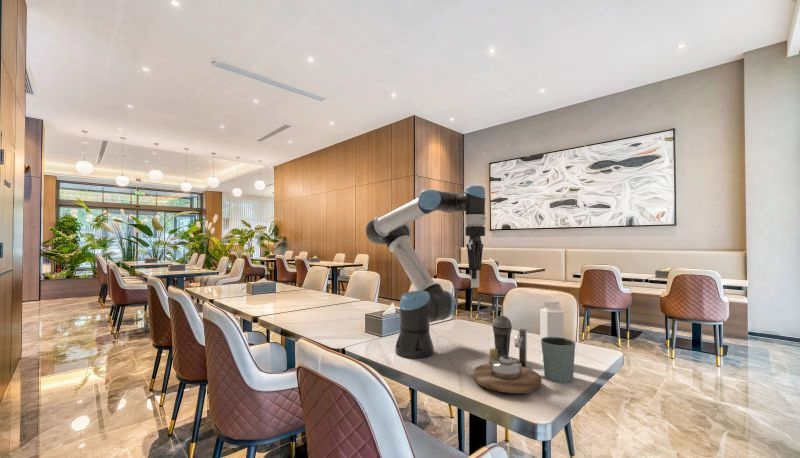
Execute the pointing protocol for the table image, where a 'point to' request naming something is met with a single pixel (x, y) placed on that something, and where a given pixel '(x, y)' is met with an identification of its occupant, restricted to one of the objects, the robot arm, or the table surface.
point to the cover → (506, 368)
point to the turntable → (523, 385)
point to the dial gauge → (522, 347)
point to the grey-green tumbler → (558, 359)
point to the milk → (550, 322)
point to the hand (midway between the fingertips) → (475, 287)
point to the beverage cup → (502, 334)
